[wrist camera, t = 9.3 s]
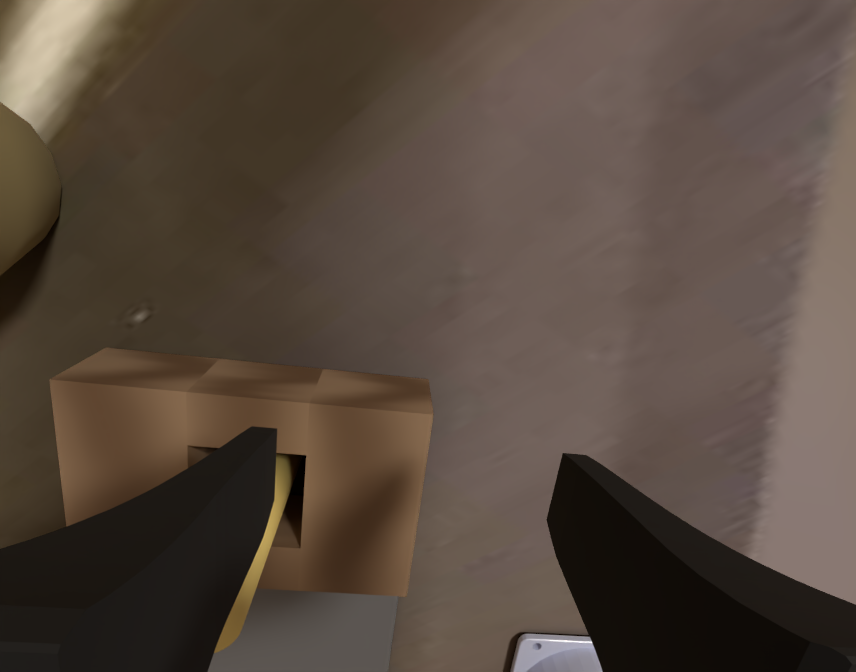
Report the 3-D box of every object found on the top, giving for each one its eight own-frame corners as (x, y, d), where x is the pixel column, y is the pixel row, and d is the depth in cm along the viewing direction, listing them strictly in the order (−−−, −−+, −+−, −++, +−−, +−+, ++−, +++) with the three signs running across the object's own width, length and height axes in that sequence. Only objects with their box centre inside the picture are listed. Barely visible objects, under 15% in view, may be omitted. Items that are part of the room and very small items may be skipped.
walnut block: (428, 379, 22) (433, 414, 19) (405, 540, 25) (406, 596, 21) (105, 347, 21) (49, 379, 17) (118, 521, 23) (72, 578, 20)
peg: (302, 427, 22) (242, 577, 14) (300, 483, 23) (244, 656, 15) (235, 424, 22) (133, 574, 14) (237, 480, 23) (141, 655, 14)
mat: (402, 564, 25) (402, 568, 25) (382, 701, 28) (382, 707, 28) (204, 551, 24) (202, 556, 24) (206, 695, 27) (203, 701, 27)
